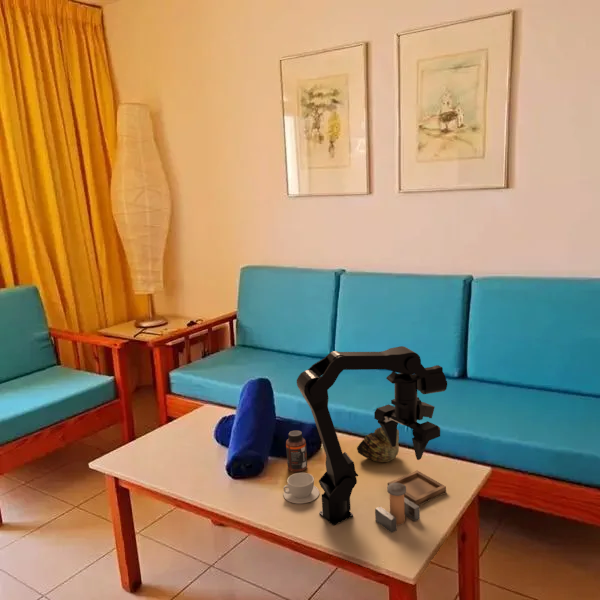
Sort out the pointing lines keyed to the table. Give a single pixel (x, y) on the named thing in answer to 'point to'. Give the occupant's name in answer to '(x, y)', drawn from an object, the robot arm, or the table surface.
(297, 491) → the teacup
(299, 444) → the supplement bottle
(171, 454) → the table surface
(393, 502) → the pin
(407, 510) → the hitch bracket
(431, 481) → the tray
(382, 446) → the seashell
